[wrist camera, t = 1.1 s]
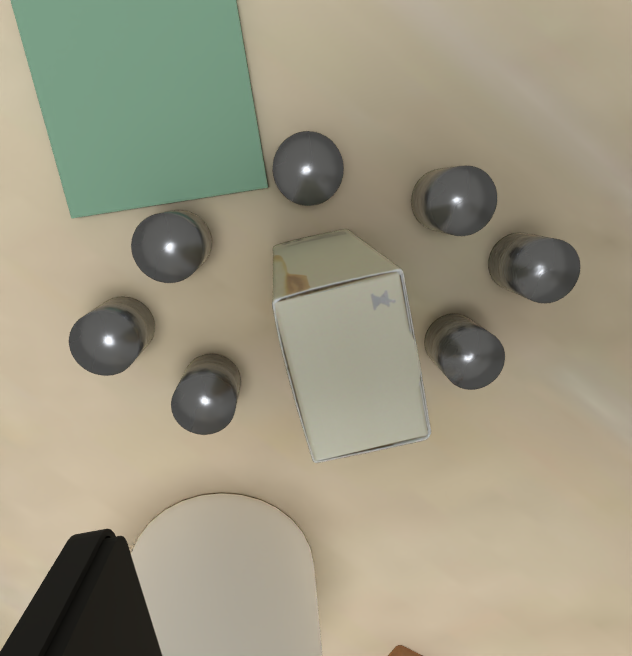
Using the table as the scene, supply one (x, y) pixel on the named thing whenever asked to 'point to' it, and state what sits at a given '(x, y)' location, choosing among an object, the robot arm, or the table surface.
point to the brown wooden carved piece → (403, 652)
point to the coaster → (143, 99)
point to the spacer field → (310, 189)
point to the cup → (228, 580)
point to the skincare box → (348, 346)
